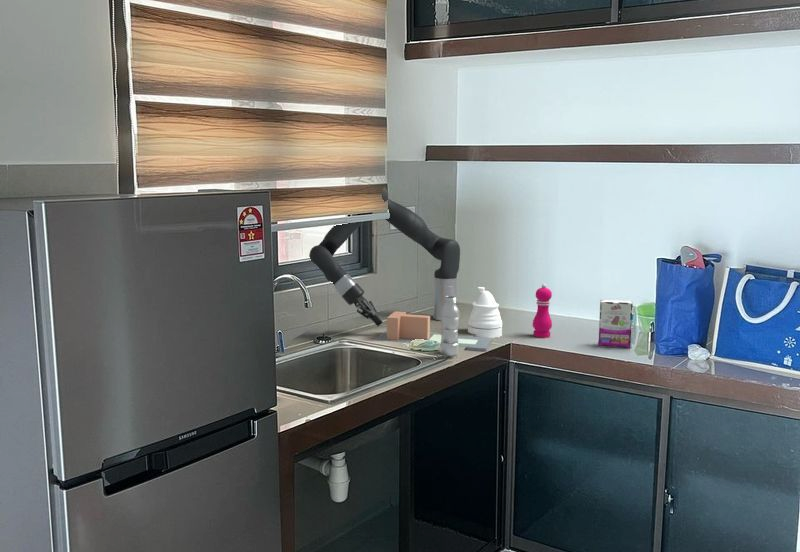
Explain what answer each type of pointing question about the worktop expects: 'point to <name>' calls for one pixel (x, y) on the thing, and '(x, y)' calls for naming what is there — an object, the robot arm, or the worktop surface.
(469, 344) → the board
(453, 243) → the robot arm
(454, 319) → the plastic bottle
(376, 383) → the worktop surface
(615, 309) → the candy bar box
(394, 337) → the t block
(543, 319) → the pepper mill
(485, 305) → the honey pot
